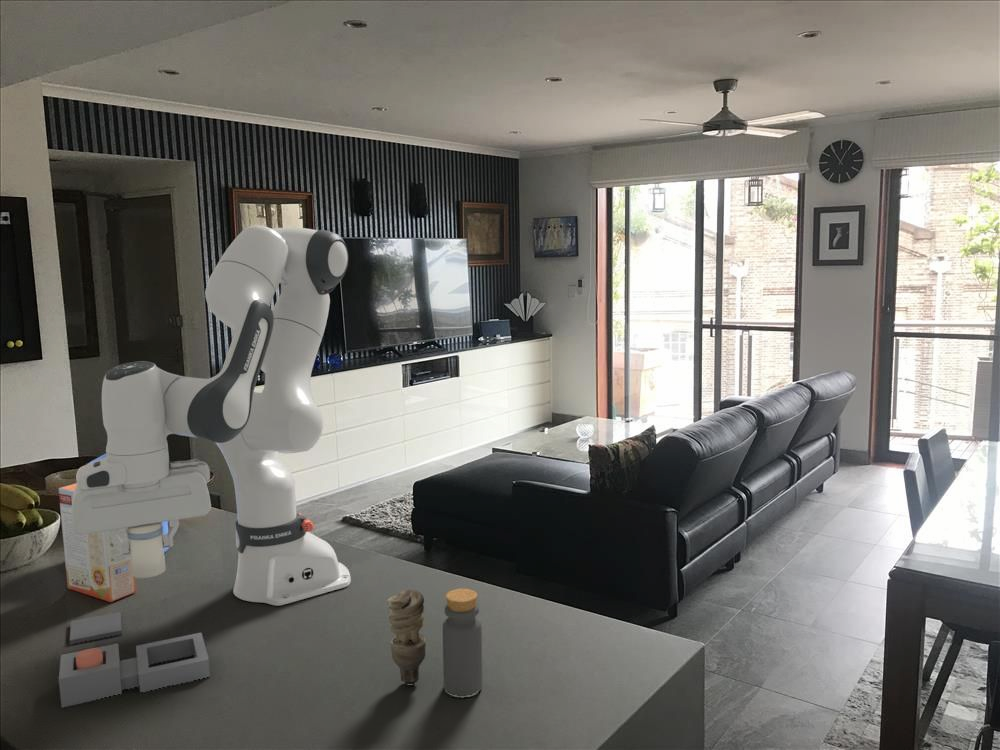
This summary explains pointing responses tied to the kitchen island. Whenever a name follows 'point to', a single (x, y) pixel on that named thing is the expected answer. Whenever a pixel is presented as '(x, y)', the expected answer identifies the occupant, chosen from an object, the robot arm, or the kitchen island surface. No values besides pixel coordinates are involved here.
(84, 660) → the plunger
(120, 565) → the cracker box
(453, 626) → the bottle
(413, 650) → the light bulb
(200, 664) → the housing
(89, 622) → the pad
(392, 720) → the kitchen island surface
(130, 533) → the cartridge
